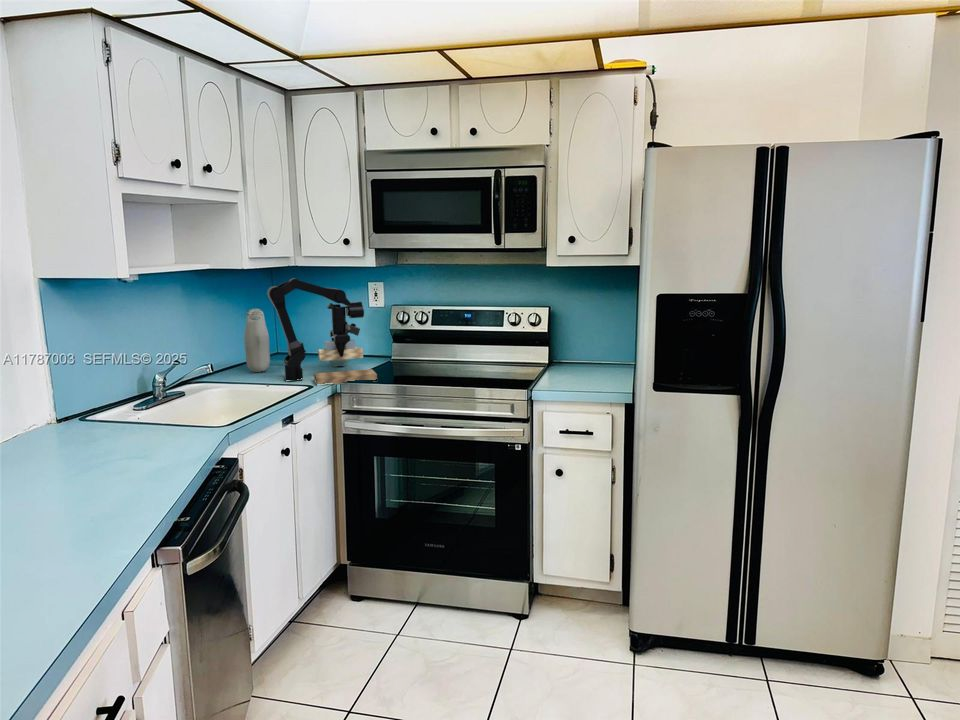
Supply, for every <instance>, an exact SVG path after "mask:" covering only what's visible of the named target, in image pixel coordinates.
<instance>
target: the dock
mask: <svg viewBox="0 0 960 720" xmlns="http://www.w3.org/2000/svg"><path fill="white" fill-rule="evenodd" d="M313 379H314V380H315V381H316V383H317V384H325V383H333V384H334V386H335V385H343V384H342V383H343V382H347V381H355V380H376V379H377V380H378V374H377V373H376V371H374V370H373V369H372V368H371V369H357V370H356V369H355V370H343V371H330V372H319V373H318V372H316V373H313ZM315 381H314V382H315ZM316 383H315V384H316Z"/></svg>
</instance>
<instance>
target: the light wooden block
mask: <svg viewBox="0 0 960 720" xmlns="http://www.w3.org/2000/svg"><path fill="white" fill-rule="evenodd" d="M363 351H364V349H363V347H362V346H355V349H344V354H343V357H340V355H339V352H338V350H337V348H336V350H330V351H326V350H325V348H322V349H321V348H319V349H317V354H318V356H317V357H318V360H319V361H320V362H322V361H323V362H325V361H329V360H341V359H348V360H353V359H355V360H356V359H363V358H364V352H363Z"/></svg>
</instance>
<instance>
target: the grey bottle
mask: <svg viewBox="0 0 960 720" xmlns="http://www.w3.org/2000/svg"><path fill="white" fill-rule="evenodd" d="M243 333H244V336H243V337H244V338H243V341H244V351H245V352H244V353H245V362H246V366H247V368H248V369H249V370H250V371H252V372H254V373H262V372H261V371H263V372H264V371H266V370H267V369H268V368H269V366H270V364H271V352H270V336H269V331H268V328H267V324H266V319H265V314H264V311H263V310H261V309H260V308H250V309H249V310H247V311H246V315H245V328H244V332H243Z"/></svg>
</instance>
